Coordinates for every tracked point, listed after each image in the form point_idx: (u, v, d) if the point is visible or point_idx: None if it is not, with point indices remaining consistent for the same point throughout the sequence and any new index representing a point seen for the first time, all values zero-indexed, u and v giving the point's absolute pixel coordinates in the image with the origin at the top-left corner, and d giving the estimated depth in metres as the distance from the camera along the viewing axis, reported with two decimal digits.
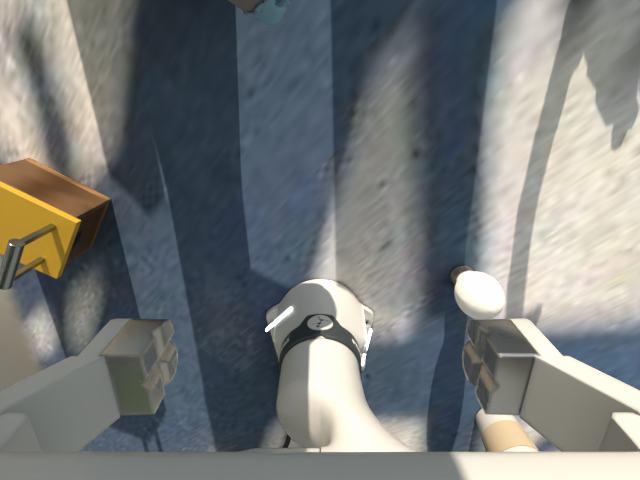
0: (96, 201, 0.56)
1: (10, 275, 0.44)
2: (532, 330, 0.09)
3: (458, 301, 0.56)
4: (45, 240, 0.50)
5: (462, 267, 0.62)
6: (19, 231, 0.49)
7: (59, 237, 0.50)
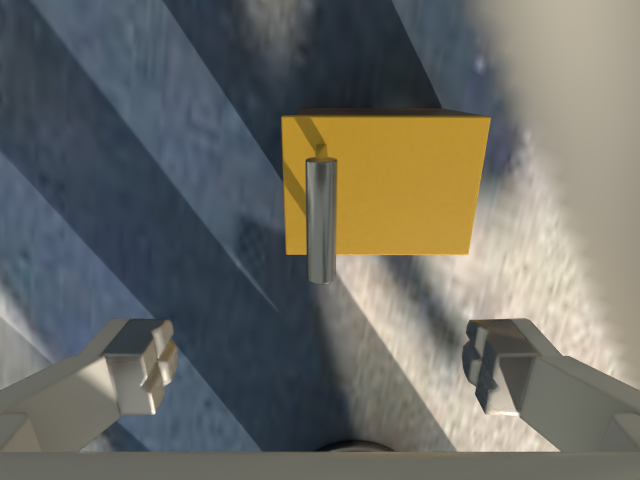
0: None
1: (309, 205, 0.19)
2: (532, 330, 0.09)
3: None
4: None
5: None
6: (375, 188, 0.25)
7: (303, 214, 0.26)
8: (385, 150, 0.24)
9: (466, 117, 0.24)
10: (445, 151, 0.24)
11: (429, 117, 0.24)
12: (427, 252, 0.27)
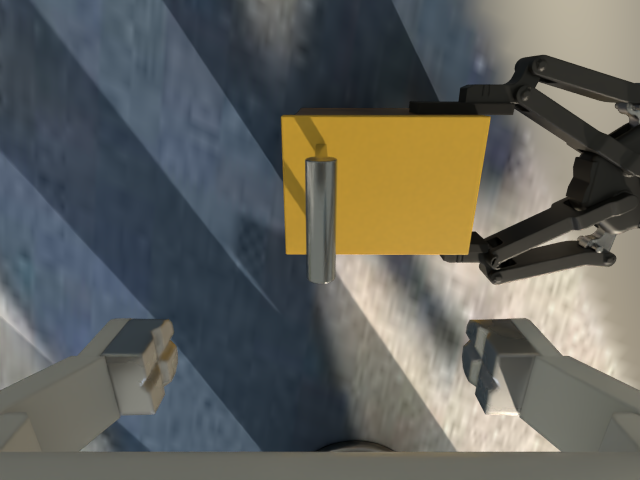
0: None
1: (308, 205, 0.19)
2: (532, 330, 0.09)
3: None
4: None
5: None
6: (375, 188, 0.25)
7: (303, 213, 0.26)
8: (385, 150, 0.24)
9: (466, 117, 0.24)
10: (445, 151, 0.24)
11: (429, 117, 0.24)
12: (427, 252, 0.27)
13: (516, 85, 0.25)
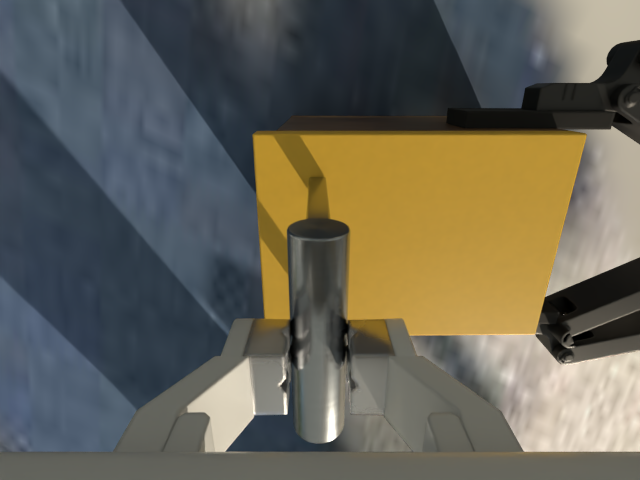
0: None
1: (295, 313, 0.10)
2: (399, 330, 0.09)
3: None
4: None
5: None
6: (401, 242, 0.17)
7: None
8: (418, 186, 0.16)
9: (548, 134, 0.15)
10: (511, 187, 0.16)
11: (489, 134, 0.15)
12: (475, 331, 0.18)
13: (616, 84, 0.17)
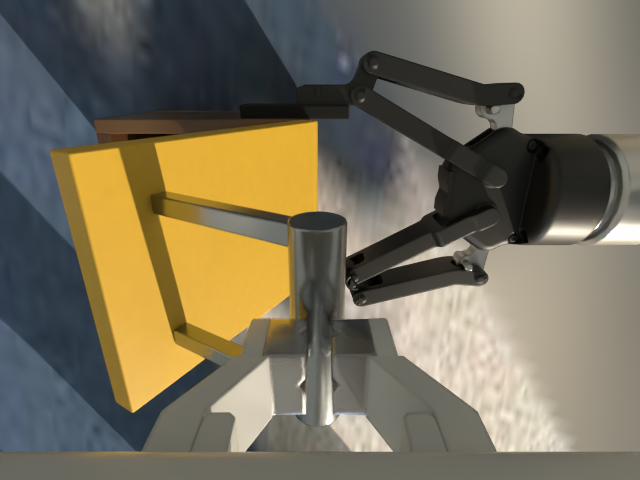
0: None
1: (320, 307, 0.10)
2: (382, 330, 0.09)
3: None
4: (178, 274, 0.15)
5: None
6: (237, 238, 0.17)
7: (150, 325, 0.14)
8: (241, 180, 0.17)
9: (301, 123, 0.20)
10: (292, 167, 0.20)
11: (275, 127, 0.18)
12: None
13: (351, 85, 0.22)
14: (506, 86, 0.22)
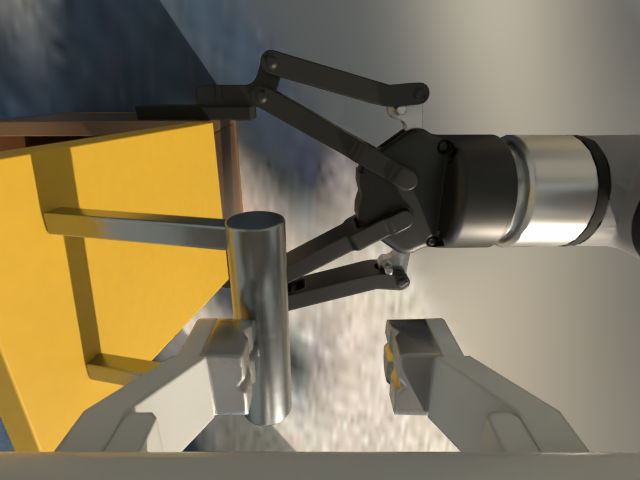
0: None
1: (268, 305, 0.10)
2: (442, 330, 0.09)
3: None
4: (85, 300, 0.13)
5: None
6: (145, 251, 0.16)
7: (58, 364, 0.12)
8: (143, 188, 0.15)
9: (197, 125, 0.19)
10: (193, 171, 0.19)
11: (172, 129, 0.17)
12: (205, 300, 0.21)
13: (252, 85, 0.22)
14: (410, 86, 0.22)
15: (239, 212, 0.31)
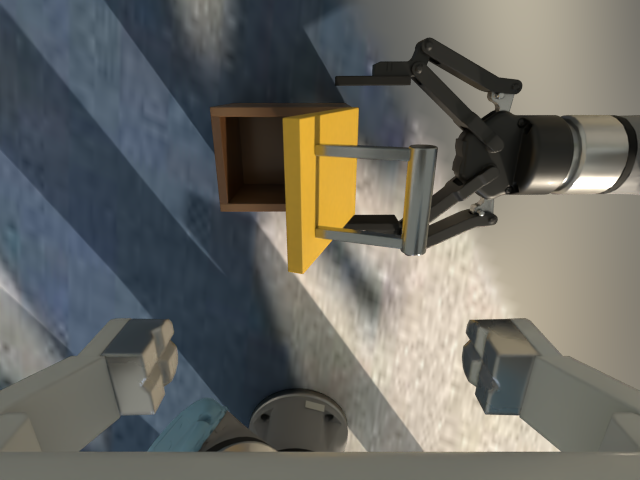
0: None
1: (427, 187, 0.21)
2: (532, 330, 0.09)
3: None
4: (318, 194, 0.25)
5: None
6: (333, 178, 0.28)
7: (310, 222, 0.24)
8: (336, 142, 0.27)
9: (353, 108, 0.31)
10: (350, 137, 0.31)
11: (346, 110, 0.29)
12: (346, 221, 0.33)
13: (414, 60, 0.33)
14: (511, 81, 0.33)
15: None
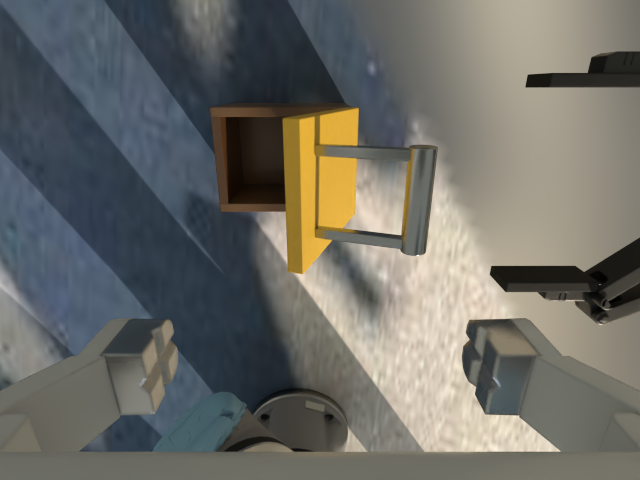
0: None
1: (426, 187, 0.21)
2: (532, 330, 0.09)
3: None
4: (317, 194, 0.25)
5: None
6: (333, 178, 0.28)
7: (310, 222, 0.24)
8: (336, 142, 0.27)
9: (353, 109, 0.31)
10: (350, 137, 0.31)
11: (346, 110, 0.29)
12: (346, 221, 0.33)
13: None
14: None
15: None
